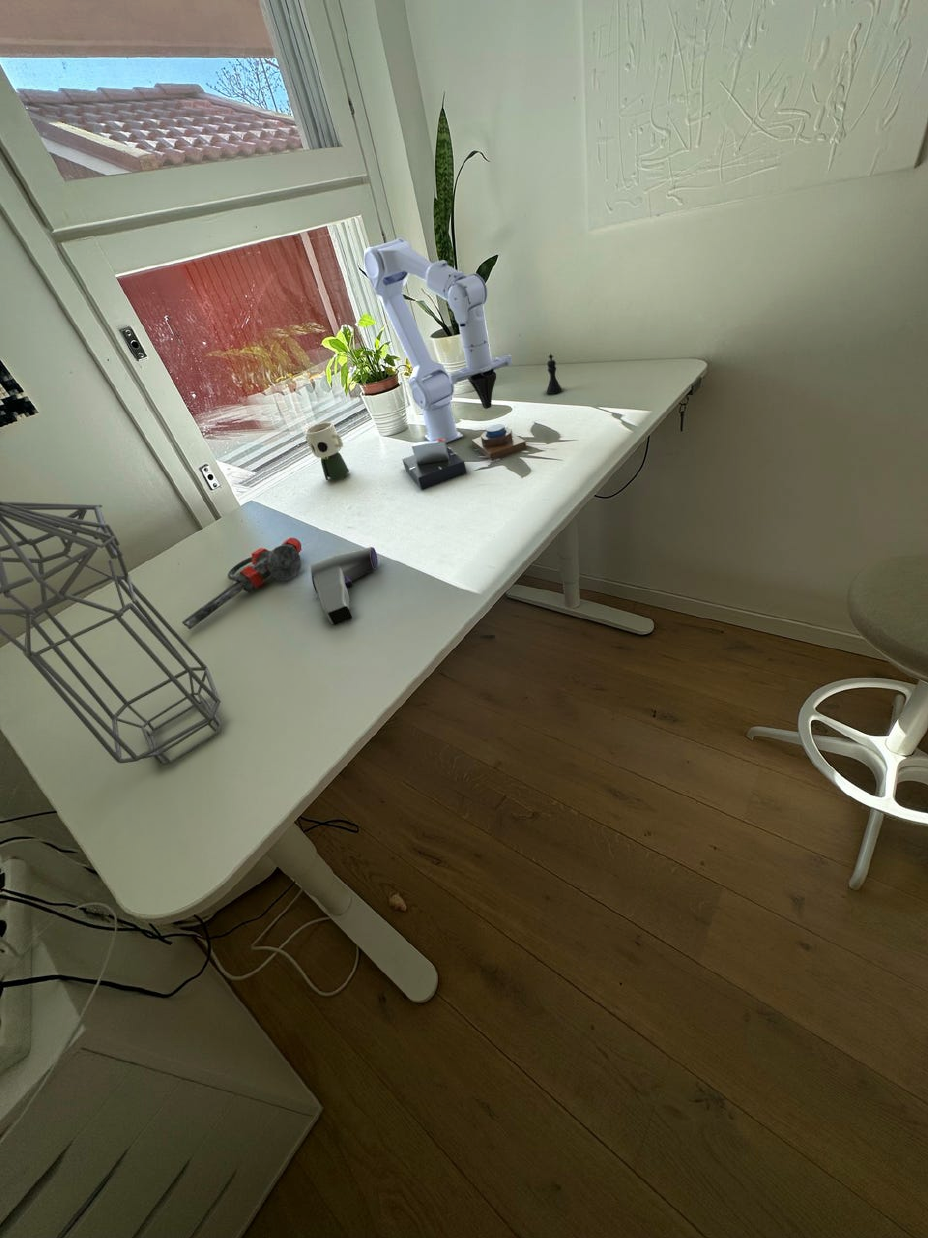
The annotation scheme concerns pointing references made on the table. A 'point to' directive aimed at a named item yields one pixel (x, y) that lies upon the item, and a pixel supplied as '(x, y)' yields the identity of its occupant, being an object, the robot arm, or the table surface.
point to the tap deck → (434, 470)
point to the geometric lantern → (43, 522)
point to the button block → (498, 444)
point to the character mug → (327, 449)
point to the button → (495, 430)
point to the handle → (430, 451)
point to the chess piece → (553, 378)
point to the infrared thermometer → (341, 580)
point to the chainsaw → (255, 575)
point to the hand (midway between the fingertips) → (487, 407)
